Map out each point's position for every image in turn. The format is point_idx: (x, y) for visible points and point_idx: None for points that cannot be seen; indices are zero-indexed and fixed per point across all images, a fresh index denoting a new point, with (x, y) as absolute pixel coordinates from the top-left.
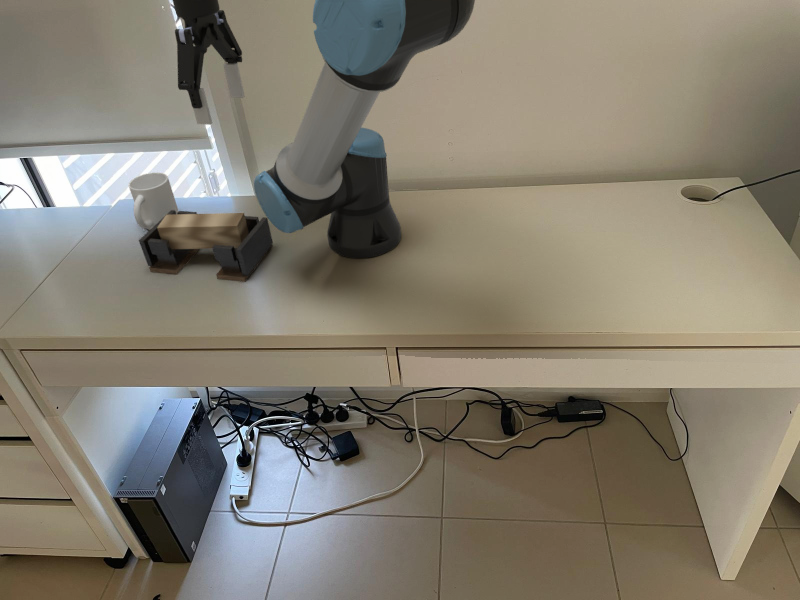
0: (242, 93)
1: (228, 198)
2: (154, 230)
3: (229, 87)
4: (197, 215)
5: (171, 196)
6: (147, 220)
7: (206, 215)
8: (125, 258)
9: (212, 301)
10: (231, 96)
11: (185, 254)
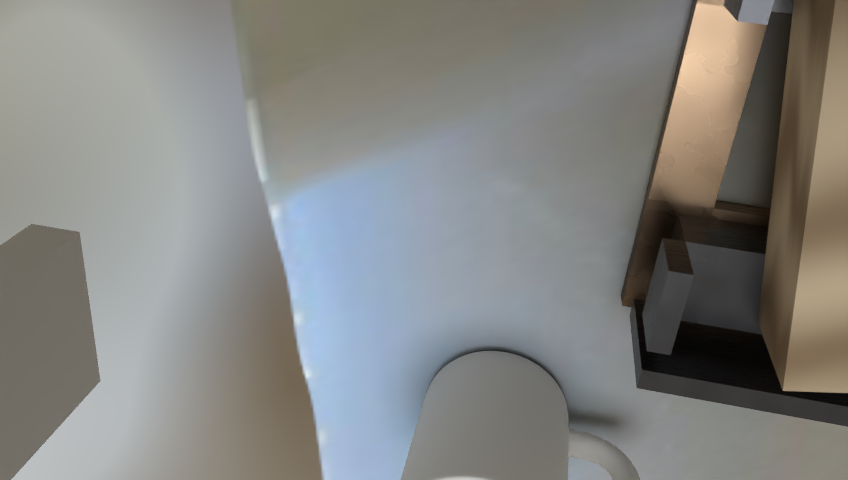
0: (35, 256)
1: (290, 211)
2: (833, 403)
3: (16, 458)
4: (822, 239)
5: (480, 421)
6: (570, 454)
7: (830, 191)
8: (761, 449)
9: None
10: (90, 379)
11: None
